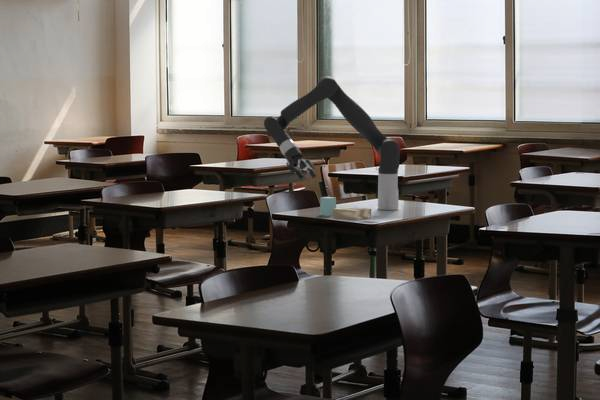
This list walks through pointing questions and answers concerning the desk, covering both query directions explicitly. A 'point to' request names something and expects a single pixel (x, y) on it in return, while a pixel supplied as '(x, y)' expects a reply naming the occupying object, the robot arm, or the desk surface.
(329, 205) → the teal block
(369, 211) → the block
